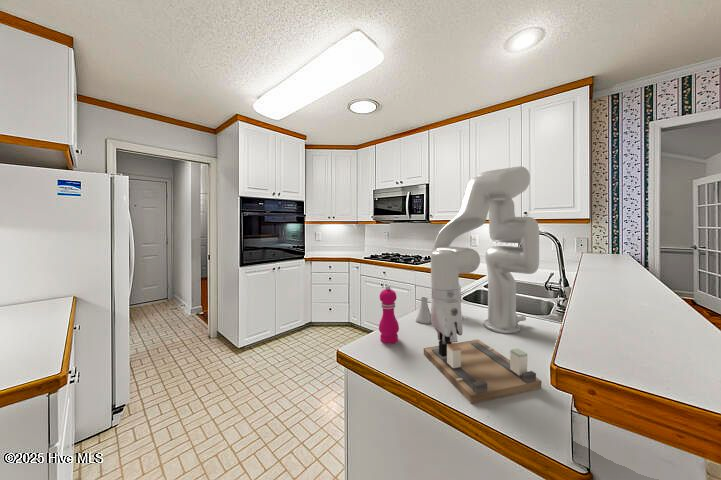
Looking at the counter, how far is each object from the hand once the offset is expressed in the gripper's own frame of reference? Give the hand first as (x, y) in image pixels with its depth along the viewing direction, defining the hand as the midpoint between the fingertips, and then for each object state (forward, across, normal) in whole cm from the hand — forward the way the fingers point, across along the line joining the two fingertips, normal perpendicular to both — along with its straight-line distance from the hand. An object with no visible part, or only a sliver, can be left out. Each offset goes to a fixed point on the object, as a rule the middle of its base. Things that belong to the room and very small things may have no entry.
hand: (445, 354), depth 79 cm
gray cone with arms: (+4, +33, -10) cm, 35 cm away
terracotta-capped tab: (+1, -4, 0) cm, 4 cm away
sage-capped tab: (+1, -12, -14) cm, 18 cm away
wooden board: (+3, -4, -7) cm, 9 cm away
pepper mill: (+4, +21, +10) cm, 23 cm away
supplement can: (+4, +34, -23) cm, 41 cm away
